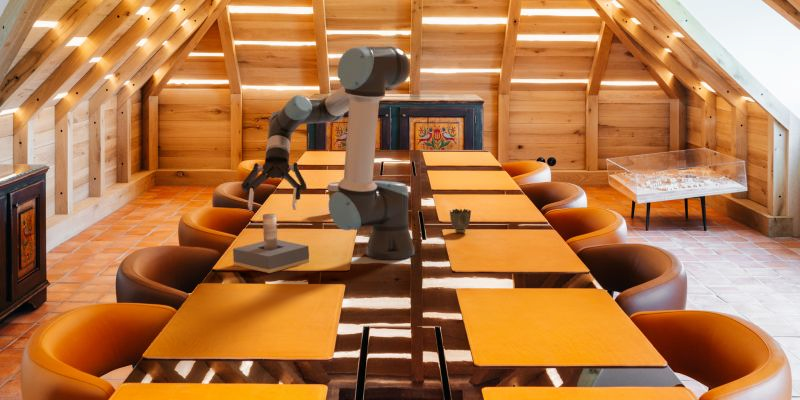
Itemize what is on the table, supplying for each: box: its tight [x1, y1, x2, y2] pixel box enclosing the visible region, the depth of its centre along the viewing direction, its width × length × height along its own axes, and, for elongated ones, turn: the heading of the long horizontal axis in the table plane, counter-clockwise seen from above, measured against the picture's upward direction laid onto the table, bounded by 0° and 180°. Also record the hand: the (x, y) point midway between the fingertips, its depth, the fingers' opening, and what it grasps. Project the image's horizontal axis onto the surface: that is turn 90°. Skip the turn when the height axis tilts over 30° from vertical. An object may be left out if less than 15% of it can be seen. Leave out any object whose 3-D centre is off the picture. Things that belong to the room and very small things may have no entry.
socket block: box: [232, 239, 310, 274], centre depth 250 cm, size 16×16×5 cm
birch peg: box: [262, 213, 278, 251], centre depth 249 cm, size 4×4×14 cm
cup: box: [449, 208, 472, 235], centre depth 287 cm, size 8×7×8 cm
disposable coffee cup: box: [326, 181, 340, 199], centre depth 323 cm, size 10×10×12 cm
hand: (271, 207), depth 253 cm, fingers open, 13 cm apart
